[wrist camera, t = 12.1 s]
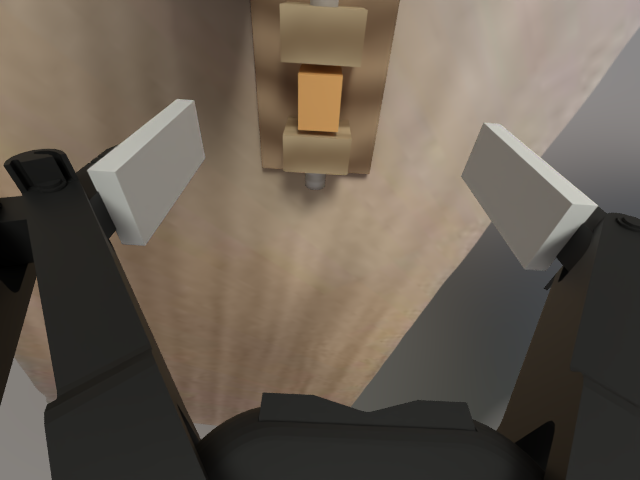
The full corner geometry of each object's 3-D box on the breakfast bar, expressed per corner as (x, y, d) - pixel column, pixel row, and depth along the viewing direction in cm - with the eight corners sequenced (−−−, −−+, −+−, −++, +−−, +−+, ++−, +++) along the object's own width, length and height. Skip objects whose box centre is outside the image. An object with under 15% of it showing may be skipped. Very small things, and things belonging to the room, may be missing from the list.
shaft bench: (249, -40, 28) (230, -48, 22) (402, -29, 28) (420, -34, 22) (263, 163, 40) (253, 191, 35) (368, 170, 41) (374, 198, 35)
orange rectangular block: (302, 61, 32) (298, 73, 27) (340, 63, 32) (342, 76, 27) (302, 111, 35) (298, 129, 30) (336, 113, 35) (338, 132, 30)
